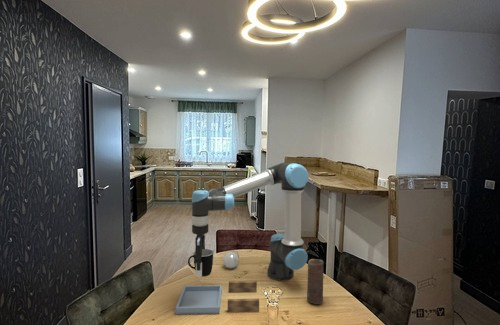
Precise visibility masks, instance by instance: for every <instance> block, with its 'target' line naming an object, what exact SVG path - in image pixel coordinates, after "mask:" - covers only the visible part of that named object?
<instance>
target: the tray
mask: <svg viewBox="0 0 500 325" xmlns="http://www.w3.org/2000/svg"><path fill="white" fill-rule="evenodd" d="M181 290H182V291H181V293H180V295H179V298H178V301H177V303H176V305H175V316H182V315H184V316H187V315H188V314H189V315H191V314H192V315H220V313H221V304H222V303H221V302H222V294H223V285H222V284H217V285H215V284H212V285H210V284H207V285H206V284H205V285H184V286H183V288H182V289H181ZM189 315H188V316H189Z"/></svg>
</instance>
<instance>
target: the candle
mask: <svg viewBox="0 0 500 325" xmlns="http://www.w3.org/2000/svg"><path fill="white" fill-rule="evenodd" d="M306 284H307V286H306V287H307V289H306V291H307V292H306V299H307V300H306V301H308V302H310V303H311V304H313V305H314V304H315V305H318V304H319V305H320V304H323V301H324V261H323V260H322V259H319V258H317V259H315V258H311V259H310V258H309V260H307V283H306Z"/></svg>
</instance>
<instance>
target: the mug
mask: <svg viewBox="0 0 500 325" xmlns="http://www.w3.org/2000/svg"><path fill="white" fill-rule="evenodd" d="M191 258H193V264H194V265H191V261H190V260H191ZM201 261H202V277H204V278H205V277H208V276H210V275H211V274H212V269H213V265H214V251H213V250H212V249H210V248H205V249H202V260H201ZM194 262H195V251H194V252H193V254H191V255H190V257H188V259H187V264H188V266H189V267H190V269H192V270H195V272H196V263H194Z"/></svg>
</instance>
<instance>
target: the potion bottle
mask: <svg viewBox="0 0 500 325" xmlns="http://www.w3.org/2000/svg"><path fill="white" fill-rule="evenodd" d="M239 259H240V255H239V252H238V251H234V250H233V251H228V252H227V253H225V254H224V255H223V259H222V261H223V262H222V263H223V265H224V267H225V268H227V269H231V270H232V269H234V268H236V267H237V266H238V264H239V262H240V260H239Z"/></svg>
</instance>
